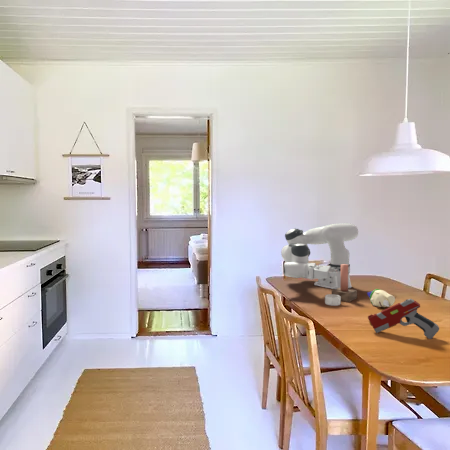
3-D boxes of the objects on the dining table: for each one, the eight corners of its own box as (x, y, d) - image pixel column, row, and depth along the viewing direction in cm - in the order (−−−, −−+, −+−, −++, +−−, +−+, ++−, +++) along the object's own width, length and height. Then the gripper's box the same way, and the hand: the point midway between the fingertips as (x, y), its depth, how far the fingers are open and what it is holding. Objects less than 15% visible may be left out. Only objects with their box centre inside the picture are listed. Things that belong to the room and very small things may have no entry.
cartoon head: (389, 316, 202) (362, 305, 221) (403, 305, 204) (375, 294, 223) (382, 302, 200) (356, 292, 218) (396, 291, 202) (369, 281, 221)
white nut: (323, 305, 213) (323, 296, 213) (329, 302, 219) (329, 293, 219) (336, 307, 209) (336, 298, 208) (342, 304, 214) (342, 295, 214)
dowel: (339, 290, 224) (339, 264, 223) (342, 289, 227) (342, 263, 226) (346, 291, 221) (346, 265, 220) (349, 290, 224) (349, 264, 223)
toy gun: (389, 353, 172) (366, 315, 174) (442, 331, 164) (417, 292, 166) (389, 356, 169) (366, 318, 171) (443, 334, 160) (417, 294, 163)
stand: (331, 299, 224) (331, 290, 224) (339, 296, 232) (339, 287, 231) (349, 302, 218) (349, 293, 217) (356, 299, 225) (357, 290, 225)
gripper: (314, 273, 239) (339, 274, 234) (309, 280, 220) (336, 281, 215) (314, 262, 238) (339, 263, 234) (309, 268, 219) (336, 269, 215)
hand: (337, 272), depth 224 cm, fingers open, 8 cm apart
